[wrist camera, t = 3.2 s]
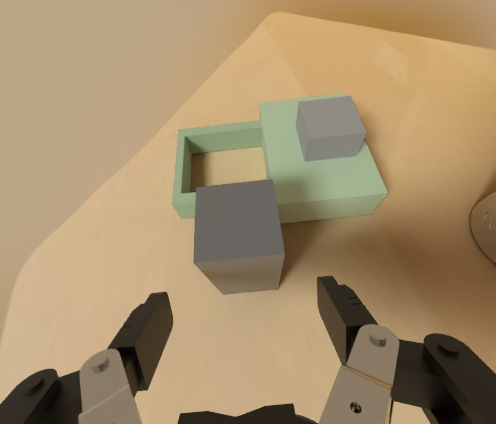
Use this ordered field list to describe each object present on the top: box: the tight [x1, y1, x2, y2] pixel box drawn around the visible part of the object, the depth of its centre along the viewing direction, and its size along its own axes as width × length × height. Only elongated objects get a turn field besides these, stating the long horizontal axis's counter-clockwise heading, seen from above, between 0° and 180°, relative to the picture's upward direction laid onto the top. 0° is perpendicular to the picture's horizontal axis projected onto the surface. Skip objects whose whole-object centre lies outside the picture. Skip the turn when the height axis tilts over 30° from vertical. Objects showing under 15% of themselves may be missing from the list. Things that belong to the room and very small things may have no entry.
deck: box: [172, 93, 388, 224], centre depth 25 cm, size 20×14×7 cm
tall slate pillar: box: [194, 179, 285, 295], centre depth 18 cm, size 5×5×10 cm
